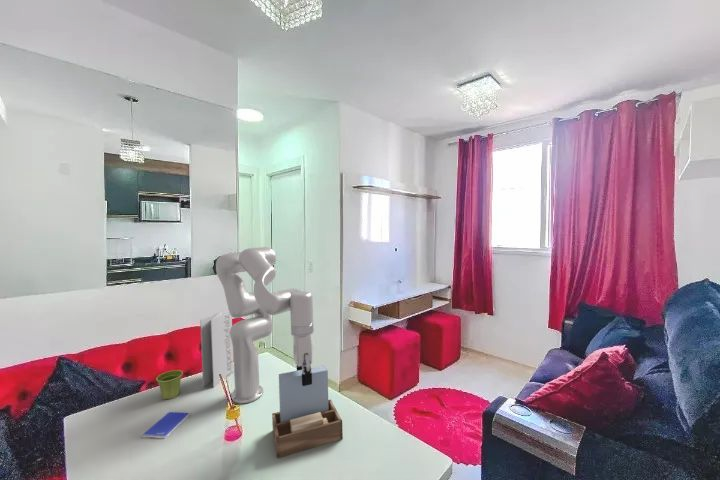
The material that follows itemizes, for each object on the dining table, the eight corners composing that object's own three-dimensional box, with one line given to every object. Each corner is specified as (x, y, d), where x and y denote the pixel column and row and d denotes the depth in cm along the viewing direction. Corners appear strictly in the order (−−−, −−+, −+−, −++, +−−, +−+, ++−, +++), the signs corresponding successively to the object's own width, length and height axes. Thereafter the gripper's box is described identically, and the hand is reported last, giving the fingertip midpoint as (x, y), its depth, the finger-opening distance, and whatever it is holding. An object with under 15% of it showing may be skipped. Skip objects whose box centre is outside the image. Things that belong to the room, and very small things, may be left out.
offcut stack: (285, 443, 96) (285, 420, 96) (327, 431, 101) (327, 409, 101) (288, 452, 92) (287, 429, 92) (331, 439, 97) (330, 417, 97)
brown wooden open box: (272, 430, 102) (272, 413, 102) (331, 415, 110) (330, 399, 110) (277, 458, 90) (276, 438, 89) (342, 438, 97) (342, 421, 97)
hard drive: (165, 435, 99) (189, 412, 112) (142, 434, 100) (168, 411, 112) (165, 439, 99) (189, 416, 112) (142, 438, 100) (168, 415, 112)
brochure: (213, 387, 131) (211, 320, 130) (202, 386, 132) (200, 319, 131) (233, 372, 145) (231, 311, 144) (223, 371, 146) (221, 310, 145)
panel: (280, 431, 102) (278, 374, 101) (325, 419, 107) (324, 365, 107) (281, 439, 98) (280, 379, 97) (328, 426, 104) (327, 370, 103)
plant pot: (188, 393, 127) (187, 373, 126) (164, 404, 119) (162, 383, 118) (176, 387, 132) (176, 368, 131) (153, 397, 124) (152, 377, 124)
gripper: (287, 323, 108) (289, 369, 108) (295, 338, 92) (297, 393, 92) (307, 320, 111) (309, 365, 111) (319, 334, 95) (321, 387, 95)
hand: (304, 378), depth 102 cm, fingers open, 9 cm apart
